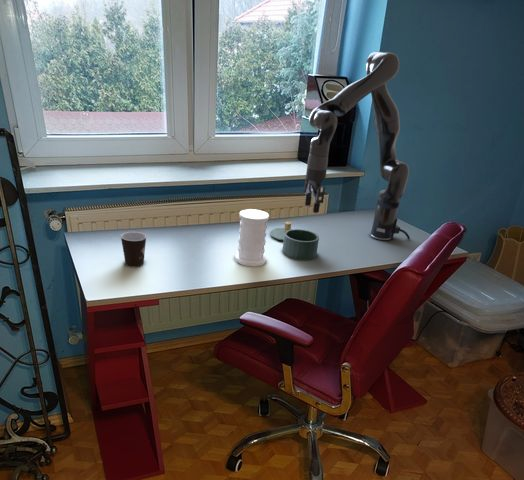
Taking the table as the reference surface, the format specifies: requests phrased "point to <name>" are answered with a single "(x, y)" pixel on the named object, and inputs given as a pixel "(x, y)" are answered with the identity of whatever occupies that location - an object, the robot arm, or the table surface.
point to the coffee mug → (133, 248)
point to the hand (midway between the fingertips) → (311, 208)
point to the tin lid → (280, 231)
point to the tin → (300, 244)
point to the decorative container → (252, 237)
